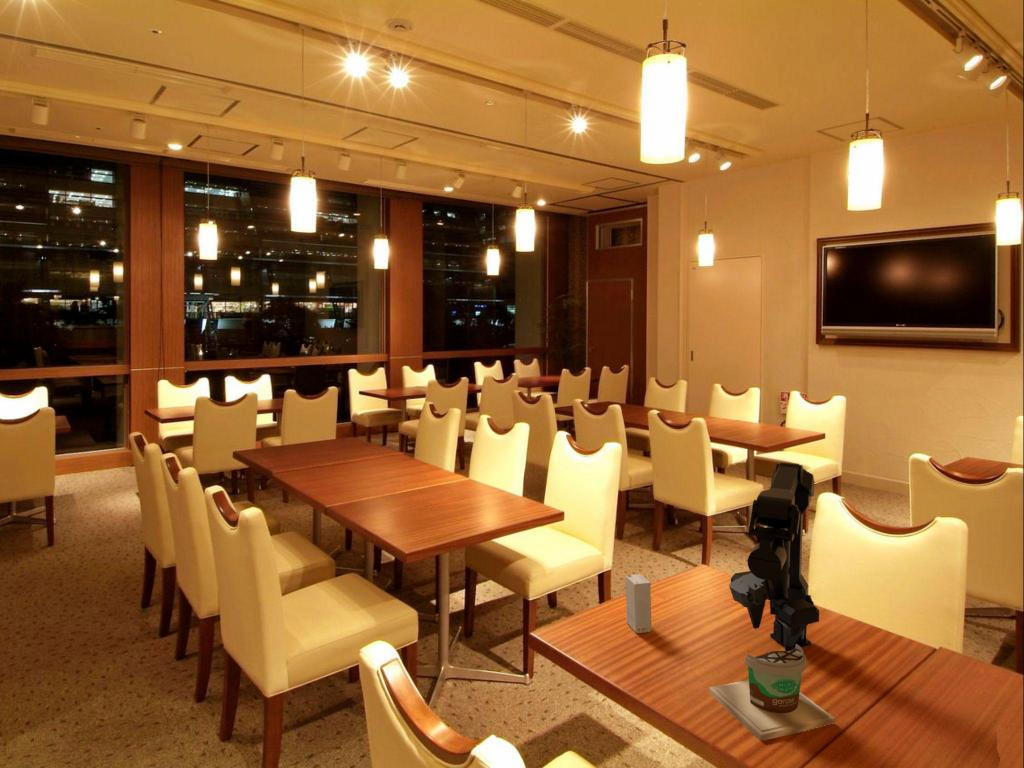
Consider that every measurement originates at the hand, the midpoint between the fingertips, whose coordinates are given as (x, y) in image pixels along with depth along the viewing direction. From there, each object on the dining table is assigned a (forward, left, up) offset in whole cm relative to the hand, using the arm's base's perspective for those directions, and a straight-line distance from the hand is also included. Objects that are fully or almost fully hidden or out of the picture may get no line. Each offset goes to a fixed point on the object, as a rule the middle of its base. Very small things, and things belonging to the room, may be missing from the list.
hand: (771, 638), depth 129 cm
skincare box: (+10, -36, -13) cm, 39 cm away
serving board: (+2, +2, -14) cm, 14 cm away
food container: (+1, +4, -11) cm, 12 cm away
